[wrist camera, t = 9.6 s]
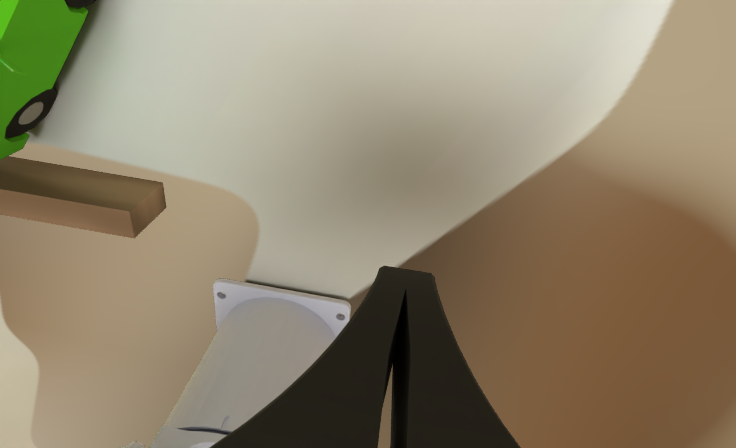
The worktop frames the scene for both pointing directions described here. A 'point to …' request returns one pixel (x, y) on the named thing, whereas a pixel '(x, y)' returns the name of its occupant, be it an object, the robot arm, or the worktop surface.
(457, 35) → the worktop surface
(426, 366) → the robot arm
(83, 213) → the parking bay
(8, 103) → the toy car
